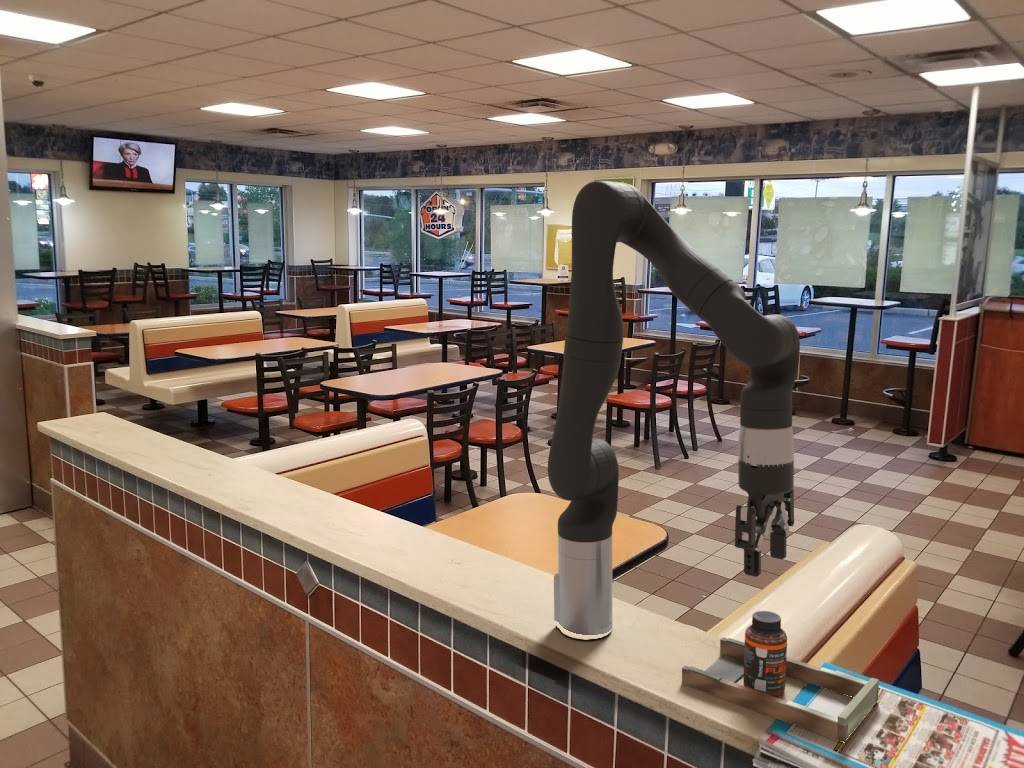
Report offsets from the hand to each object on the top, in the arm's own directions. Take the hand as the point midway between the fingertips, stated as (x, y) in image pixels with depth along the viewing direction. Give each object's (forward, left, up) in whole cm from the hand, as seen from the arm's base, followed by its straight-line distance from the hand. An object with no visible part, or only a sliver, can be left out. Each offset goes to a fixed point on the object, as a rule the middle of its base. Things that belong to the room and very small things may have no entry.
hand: (765, 566), depth 117 cm
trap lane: (+2, 0, -19) cm, 19 cm away
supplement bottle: (0, 0, -19) cm, 19 cm away
